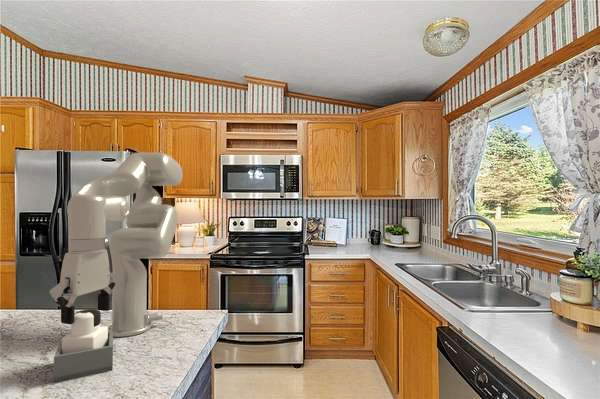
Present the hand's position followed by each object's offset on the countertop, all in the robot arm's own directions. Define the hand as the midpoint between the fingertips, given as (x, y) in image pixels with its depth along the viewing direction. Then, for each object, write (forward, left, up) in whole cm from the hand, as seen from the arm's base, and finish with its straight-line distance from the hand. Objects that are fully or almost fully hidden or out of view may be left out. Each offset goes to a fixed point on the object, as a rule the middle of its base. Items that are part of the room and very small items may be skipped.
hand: (86, 316), depth 80 cm
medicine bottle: (0, 0, -11) cm, 11 cm away
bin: (0, 0, -12) cm, 12 cm away
